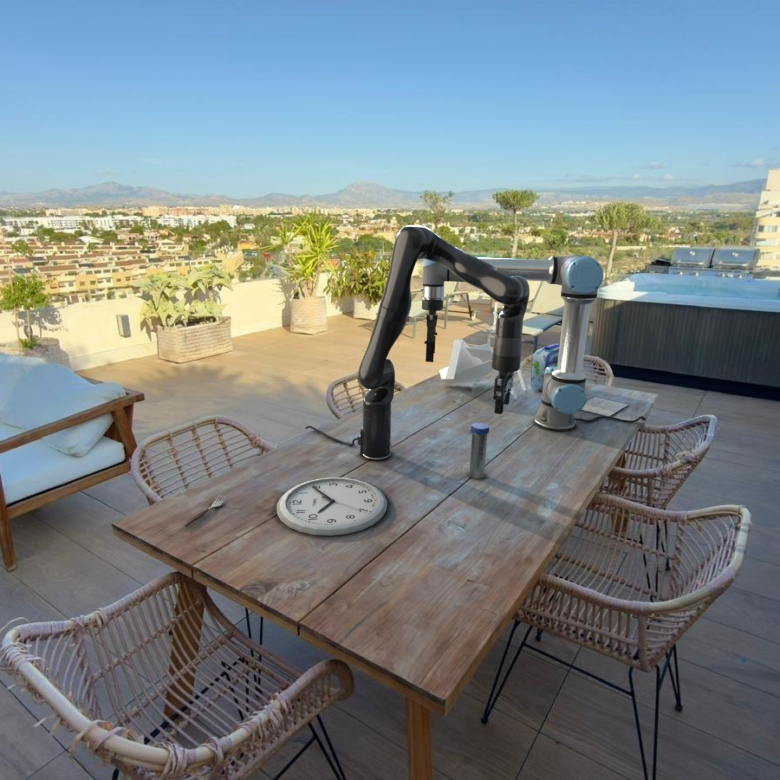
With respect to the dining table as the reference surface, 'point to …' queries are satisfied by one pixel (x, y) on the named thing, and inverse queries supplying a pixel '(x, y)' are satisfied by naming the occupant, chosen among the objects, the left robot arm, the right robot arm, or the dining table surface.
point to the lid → (480, 428)
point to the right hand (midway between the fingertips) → (430, 357)
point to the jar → (478, 455)
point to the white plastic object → (473, 365)
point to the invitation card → (603, 406)
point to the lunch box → (543, 364)
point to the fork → (215, 504)
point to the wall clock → (331, 506)
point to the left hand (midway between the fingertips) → (501, 408)
